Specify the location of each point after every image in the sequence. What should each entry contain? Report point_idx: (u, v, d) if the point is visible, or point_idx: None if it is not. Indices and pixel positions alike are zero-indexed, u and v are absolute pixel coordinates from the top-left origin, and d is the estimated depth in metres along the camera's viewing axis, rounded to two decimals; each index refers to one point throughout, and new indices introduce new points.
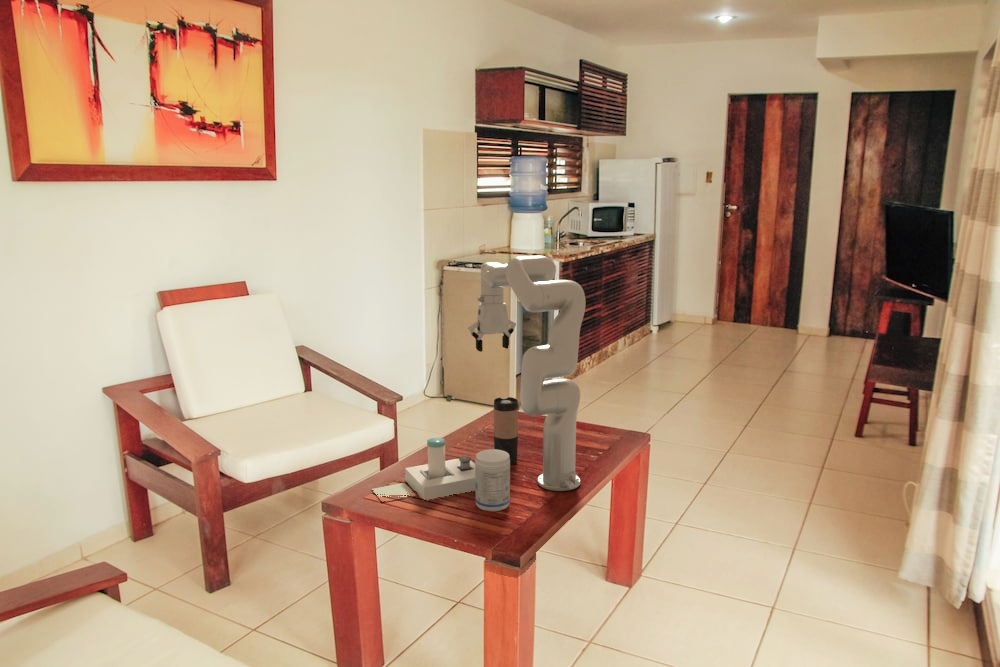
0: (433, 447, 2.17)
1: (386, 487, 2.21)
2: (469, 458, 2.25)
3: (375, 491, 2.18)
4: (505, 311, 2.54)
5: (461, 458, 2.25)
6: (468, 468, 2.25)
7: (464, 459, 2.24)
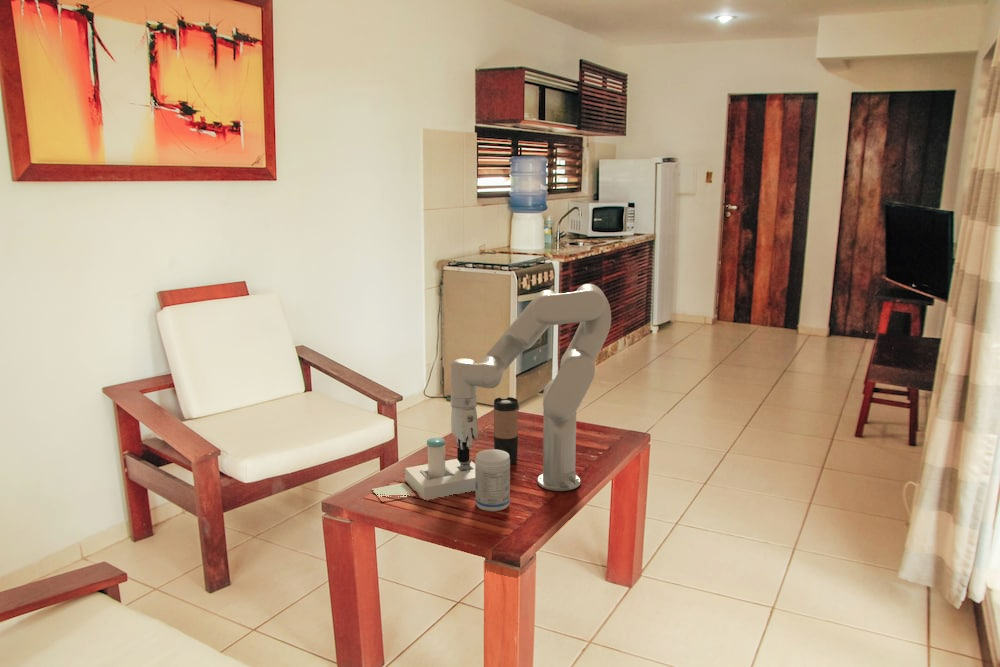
0: (433, 446, 2.17)
1: (386, 487, 2.21)
2: (469, 460, 2.25)
3: (375, 491, 2.18)
4: None
5: None
6: None
7: (464, 461, 2.24)
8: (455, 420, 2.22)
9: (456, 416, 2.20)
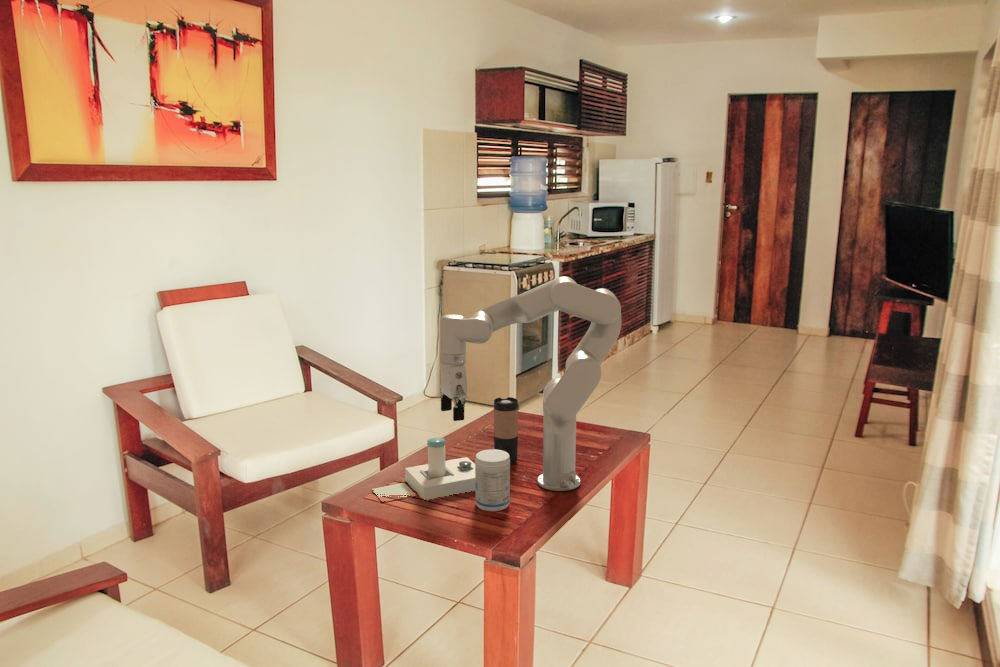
0: (433, 447, 2.17)
1: (386, 487, 2.21)
2: (469, 463, 2.25)
3: (375, 491, 2.18)
4: None
5: (461, 463, 2.25)
6: None
7: (464, 464, 2.24)
8: (444, 377, 2.17)
9: (445, 373, 2.16)
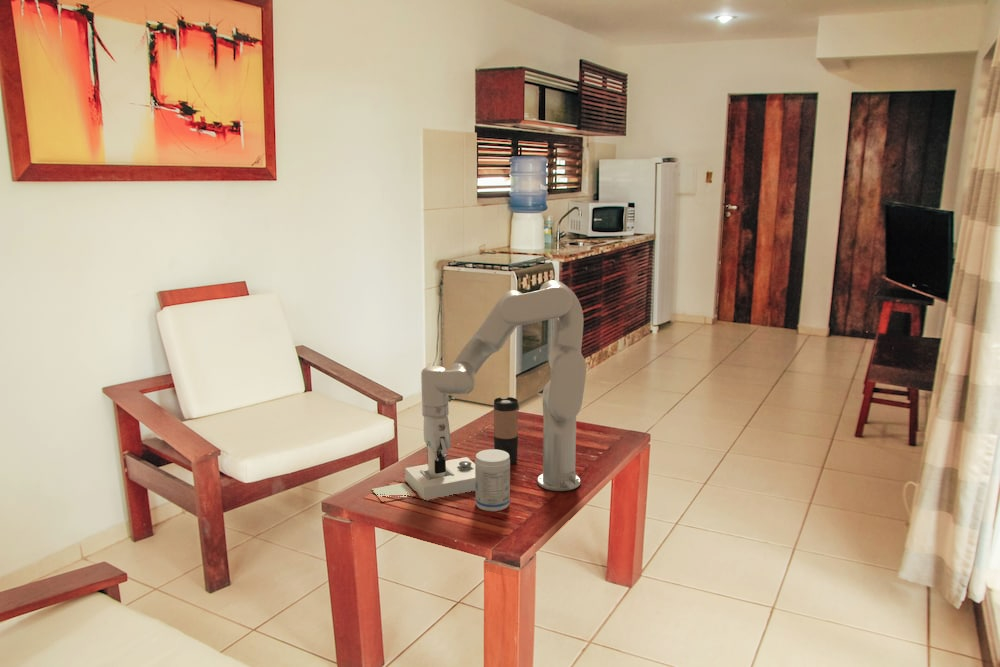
0: None
1: (386, 487, 2.21)
2: (469, 463, 2.25)
3: (375, 491, 2.18)
4: None
5: (461, 463, 2.25)
6: None
7: (464, 464, 2.24)
8: (427, 428, 2.18)
9: (428, 425, 2.17)
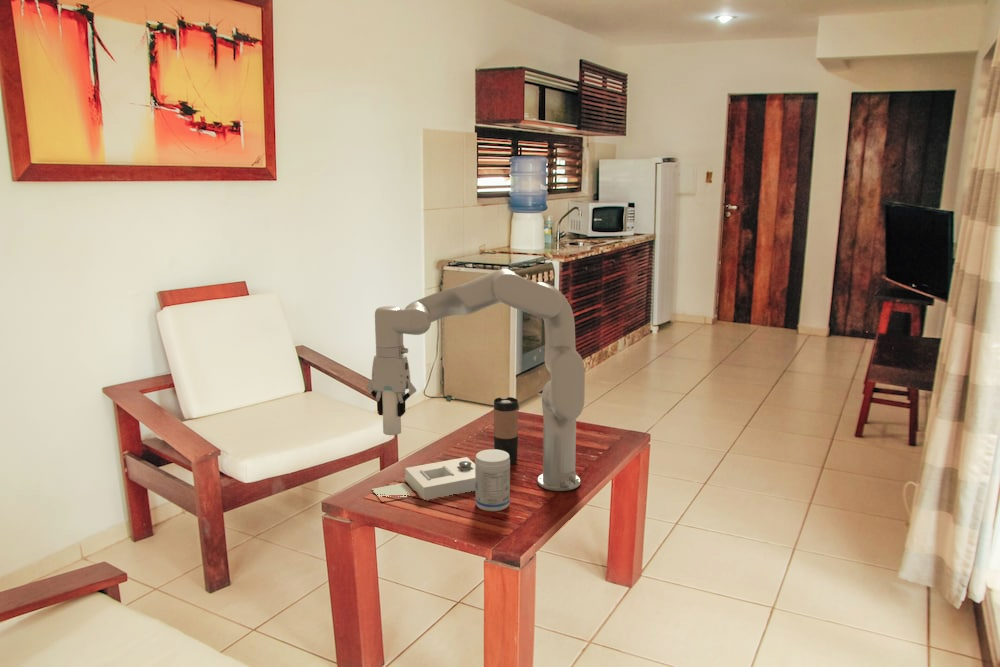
0: None
1: (386, 487, 2.21)
2: (469, 463, 2.25)
3: (375, 491, 2.18)
4: None
5: (461, 463, 2.25)
6: None
7: (464, 464, 2.24)
8: (385, 373, 2.08)
9: (388, 368, 2.08)
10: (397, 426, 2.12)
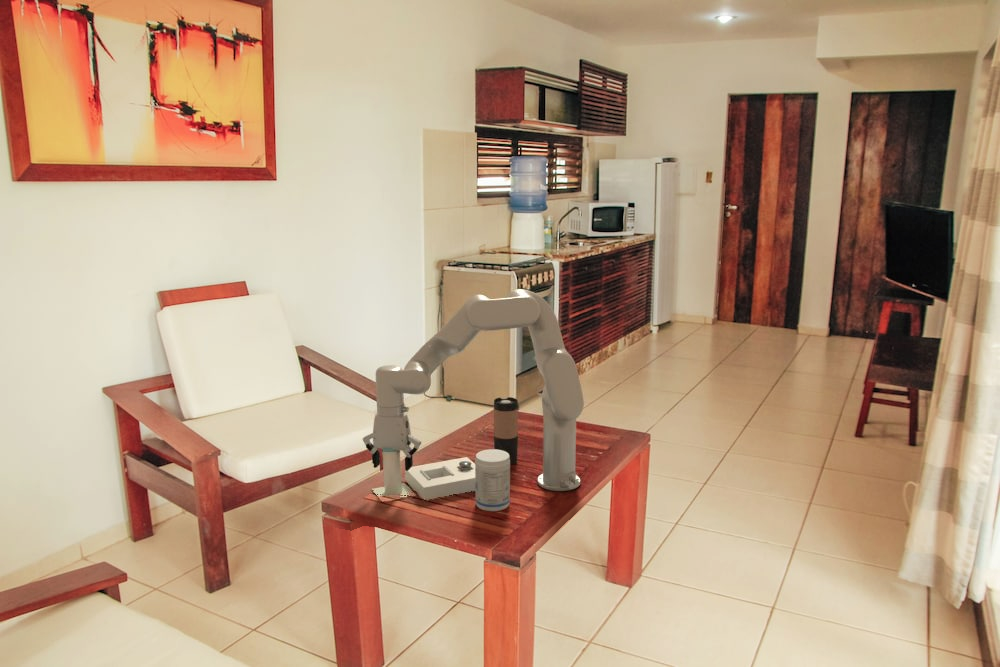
0: (395, 450, 2.13)
1: None
2: (469, 463, 2.25)
3: (375, 491, 2.18)
4: None
5: (461, 463, 2.25)
6: None
7: (464, 464, 2.24)
8: (386, 431, 2.11)
9: (389, 427, 2.11)
10: (398, 486, 2.15)
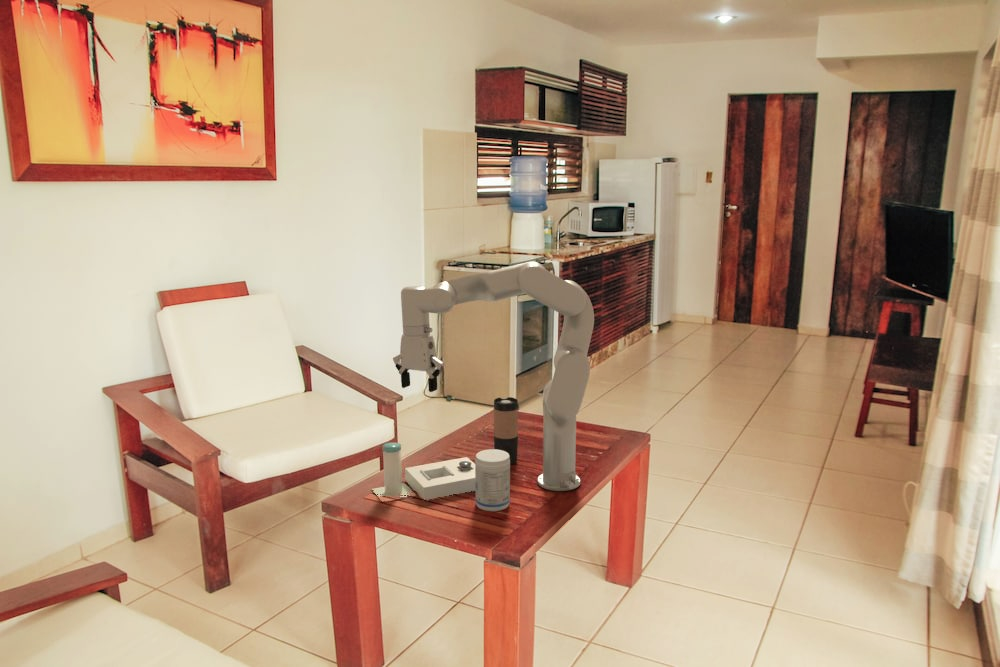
0: (396, 451, 2.13)
1: None
2: (469, 463, 2.25)
3: (375, 491, 2.18)
4: None
5: (461, 463, 2.25)
6: None
7: (464, 464, 2.24)
8: (410, 351, 2.13)
9: (413, 346, 2.13)
10: (398, 487, 2.15)
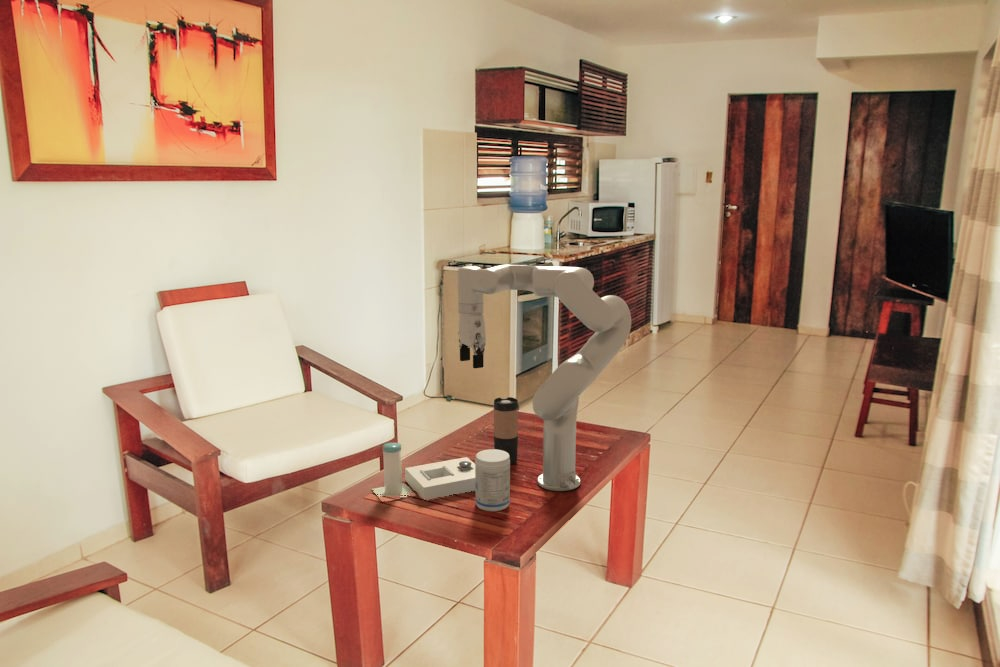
0: (396, 451, 2.13)
1: None
2: (469, 463, 2.25)
3: (375, 491, 2.18)
4: None
5: (461, 463, 2.25)
6: None
7: (464, 464, 2.24)
8: (462, 327, 2.26)
9: (464, 323, 2.25)
10: (398, 487, 2.15)
